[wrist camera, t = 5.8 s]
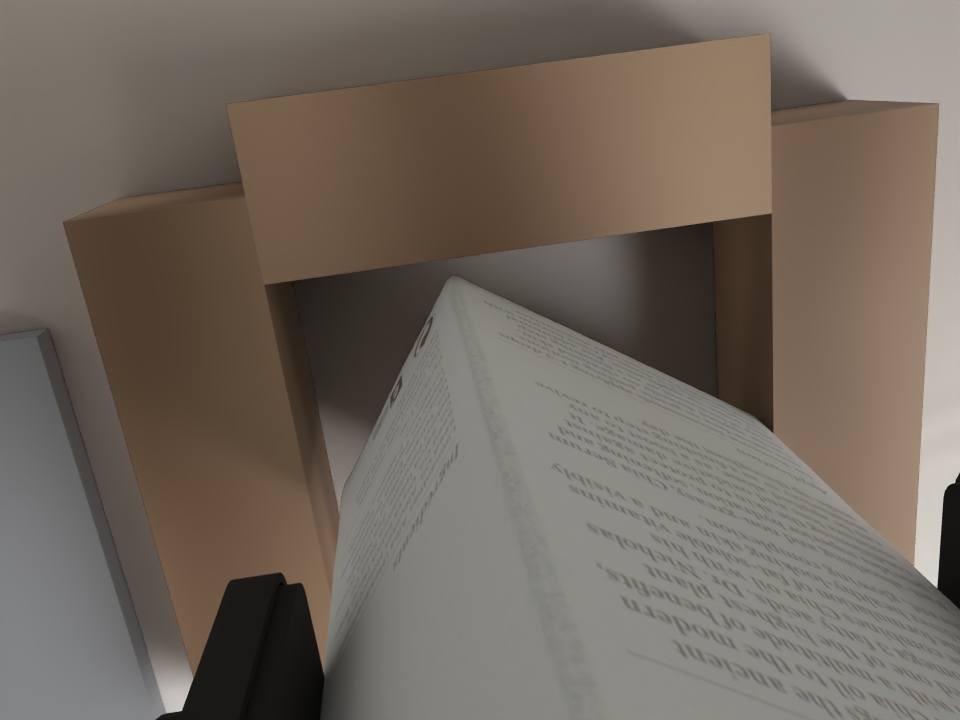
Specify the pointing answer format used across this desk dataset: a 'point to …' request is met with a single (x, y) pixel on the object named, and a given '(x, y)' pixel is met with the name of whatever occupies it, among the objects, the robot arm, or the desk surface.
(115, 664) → the grey rubber mat
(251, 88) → the desk surface
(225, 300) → the box
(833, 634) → the skincare box
